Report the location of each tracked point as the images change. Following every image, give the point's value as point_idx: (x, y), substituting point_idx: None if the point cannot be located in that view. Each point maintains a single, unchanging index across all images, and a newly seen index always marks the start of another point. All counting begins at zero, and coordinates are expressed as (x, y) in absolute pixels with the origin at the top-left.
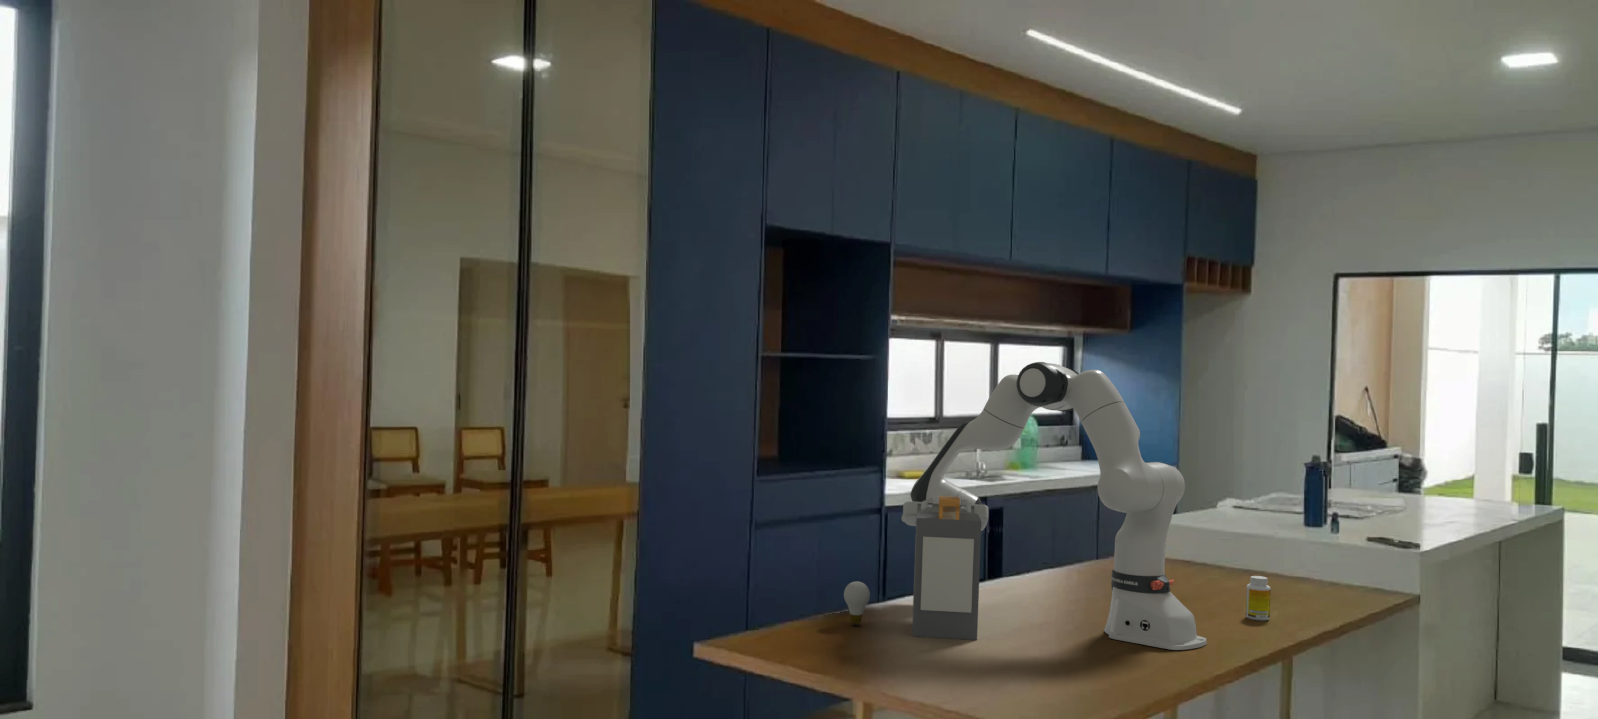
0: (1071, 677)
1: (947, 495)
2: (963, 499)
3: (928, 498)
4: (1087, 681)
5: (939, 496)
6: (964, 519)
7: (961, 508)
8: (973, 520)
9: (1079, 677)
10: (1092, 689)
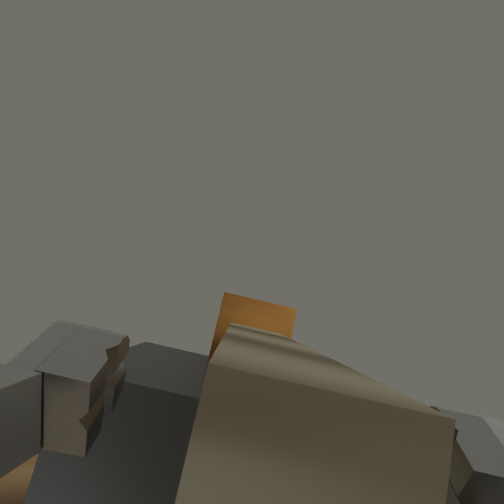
0: (22, 493)
1: (304, 384)
2: (102, 329)
3: (470, 418)
4: (13, 480)
5: (294, 308)
6: (193, 355)
7: (78, 451)
8: (169, 347)
9: (9, 492)
10: (35, 463)
